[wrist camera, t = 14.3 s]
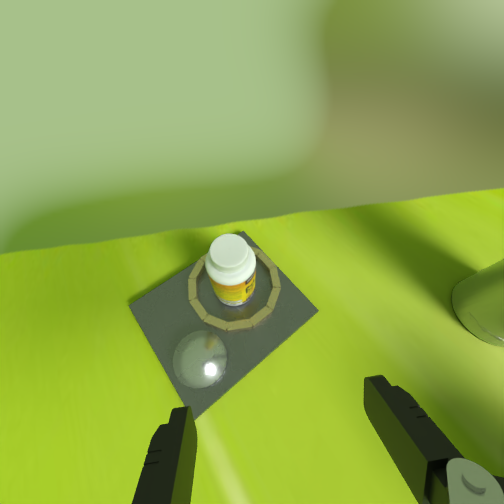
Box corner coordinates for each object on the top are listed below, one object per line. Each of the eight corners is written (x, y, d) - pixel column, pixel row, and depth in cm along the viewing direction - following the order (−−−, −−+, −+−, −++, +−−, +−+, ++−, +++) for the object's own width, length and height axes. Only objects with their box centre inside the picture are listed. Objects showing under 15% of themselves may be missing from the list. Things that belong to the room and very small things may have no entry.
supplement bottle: (251, 310, 32) (251, 279, 23) (209, 303, 32) (193, 269, 24) (258, 272, 35) (260, 230, 26) (219, 265, 35) (209, 223, 26)
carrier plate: (243, 234, 39) (243, 225, 37) (316, 312, 33) (321, 307, 31) (131, 307, 33) (123, 302, 31) (195, 419, 27) (190, 422, 25)
